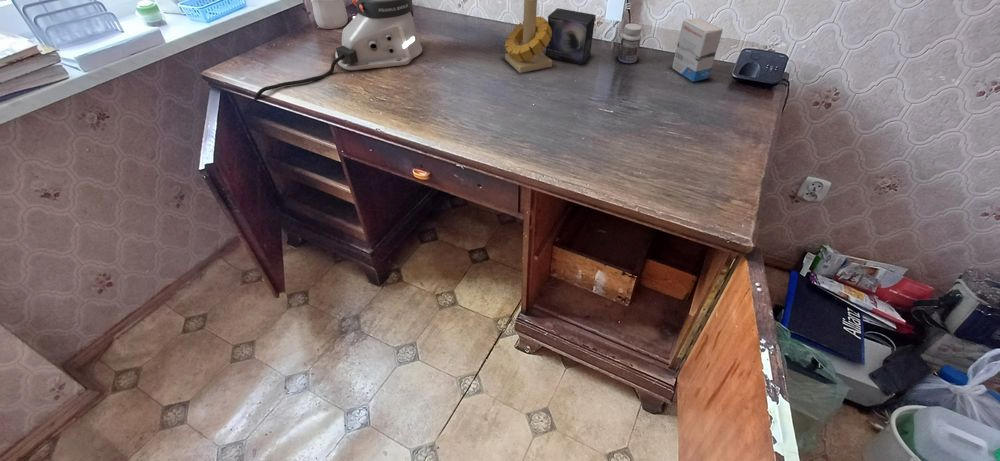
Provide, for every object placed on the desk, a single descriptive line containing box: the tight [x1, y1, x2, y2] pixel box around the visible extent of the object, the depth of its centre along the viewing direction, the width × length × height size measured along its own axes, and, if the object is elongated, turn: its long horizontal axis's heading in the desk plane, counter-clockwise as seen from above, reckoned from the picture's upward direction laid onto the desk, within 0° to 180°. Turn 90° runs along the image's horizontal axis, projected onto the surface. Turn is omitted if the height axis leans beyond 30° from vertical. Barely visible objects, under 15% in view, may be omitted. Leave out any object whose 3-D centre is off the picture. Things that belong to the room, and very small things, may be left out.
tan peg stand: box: [504, 0, 553, 74], centre depth 114 cm, size 9×9×16 cm
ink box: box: [671, 17, 724, 83], centre depth 110 cm, size 9×5×12 cm, turn 21°
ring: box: [504, 16, 552, 61], centre depth 115 cm, size 12×12×3 cm
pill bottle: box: [617, 23, 643, 64], centre depth 117 cm, size 5×5×8 cm
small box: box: [545, 7, 597, 65], centre depth 118 cm, size 11×6×10 cm, turn 62°
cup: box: [310, 0, 349, 30], centre depth 136 cm, size 10×10×10 cm
